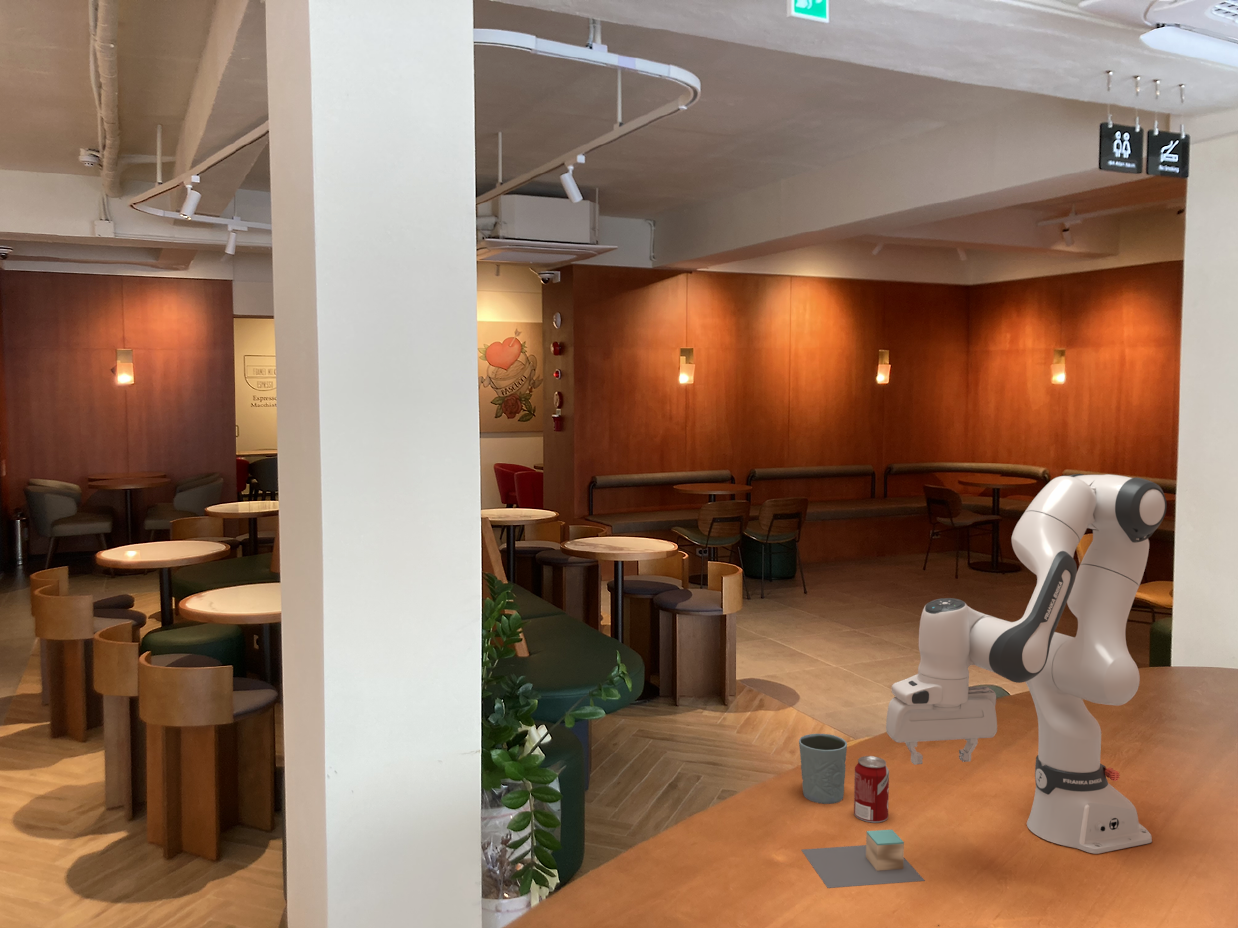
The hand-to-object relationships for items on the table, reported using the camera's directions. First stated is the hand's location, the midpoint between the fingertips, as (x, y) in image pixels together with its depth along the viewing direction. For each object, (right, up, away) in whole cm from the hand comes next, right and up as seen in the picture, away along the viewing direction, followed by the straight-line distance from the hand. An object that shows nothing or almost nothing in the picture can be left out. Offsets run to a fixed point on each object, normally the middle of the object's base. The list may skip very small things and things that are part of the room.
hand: (940, 761), depth 173 cm
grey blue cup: (-15, -17, +30) cm, 38 cm away
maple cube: (-10, -19, 0) cm, 21 cm away
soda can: (-8, -18, +19) cm, 28 cm away
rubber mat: (-15, -19, -1) cm, 24 cm away
